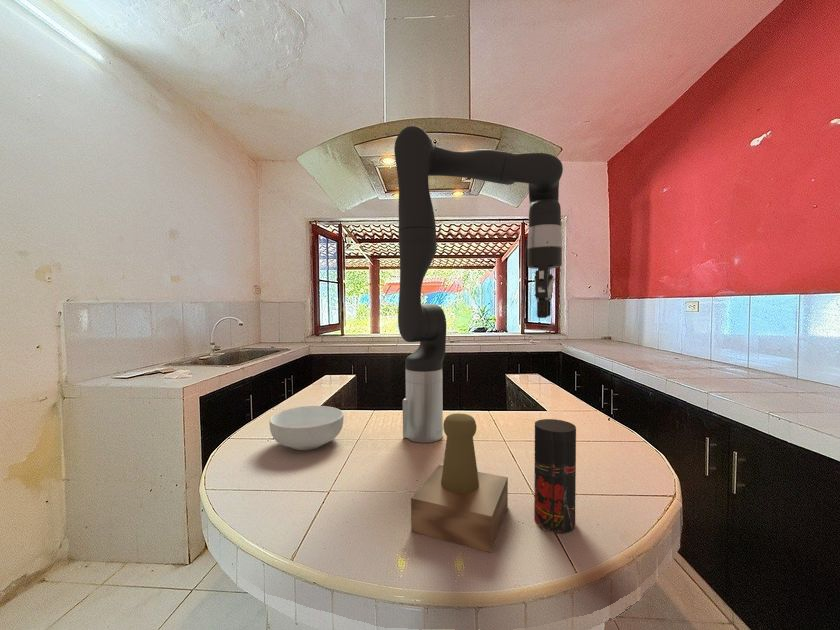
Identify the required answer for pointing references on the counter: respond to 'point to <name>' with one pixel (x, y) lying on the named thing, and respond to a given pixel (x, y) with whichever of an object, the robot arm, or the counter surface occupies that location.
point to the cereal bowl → (306, 426)
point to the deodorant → (555, 475)
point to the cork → (459, 455)
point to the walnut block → (461, 511)
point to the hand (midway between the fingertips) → (544, 317)
